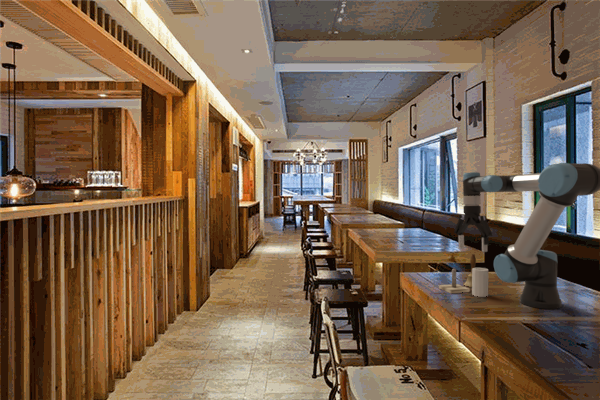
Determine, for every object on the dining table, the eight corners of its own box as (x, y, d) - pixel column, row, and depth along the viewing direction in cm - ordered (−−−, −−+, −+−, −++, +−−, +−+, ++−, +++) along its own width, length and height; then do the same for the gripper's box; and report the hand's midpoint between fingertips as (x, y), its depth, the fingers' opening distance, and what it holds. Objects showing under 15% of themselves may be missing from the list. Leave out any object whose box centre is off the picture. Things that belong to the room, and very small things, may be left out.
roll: (491, 296, 186) (491, 270, 186) (478, 297, 184) (478, 271, 184) (481, 292, 192) (481, 267, 192) (469, 293, 191) (469, 268, 190)
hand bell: (478, 283, 210) (478, 252, 209) (483, 288, 201) (484, 255, 201) (461, 283, 210) (461, 252, 210) (466, 287, 202) (466, 255, 202)
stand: (469, 291, 194) (469, 269, 194) (451, 293, 192) (451, 271, 191) (456, 286, 204) (456, 265, 203) (438, 288, 201) (438, 267, 201)
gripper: (500, 205, 184) (501, 252, 184) (457, 204, 206) (458, 246, 206) (488, 205, 181) (489, 253, 181) (446, 205, 203) (446, 247, 203)
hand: (472, 250), depth 194 cm, fingers open, 13 cm apart
